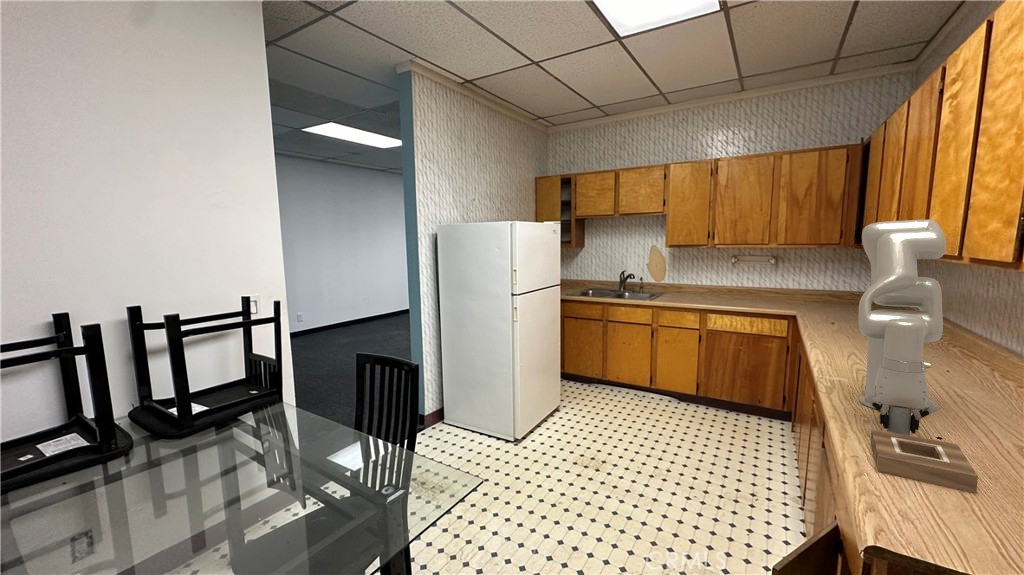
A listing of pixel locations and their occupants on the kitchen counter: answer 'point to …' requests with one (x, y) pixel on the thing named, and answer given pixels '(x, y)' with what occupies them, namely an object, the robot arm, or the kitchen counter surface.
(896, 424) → the grey hollow tube
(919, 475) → the brown flat square frame
